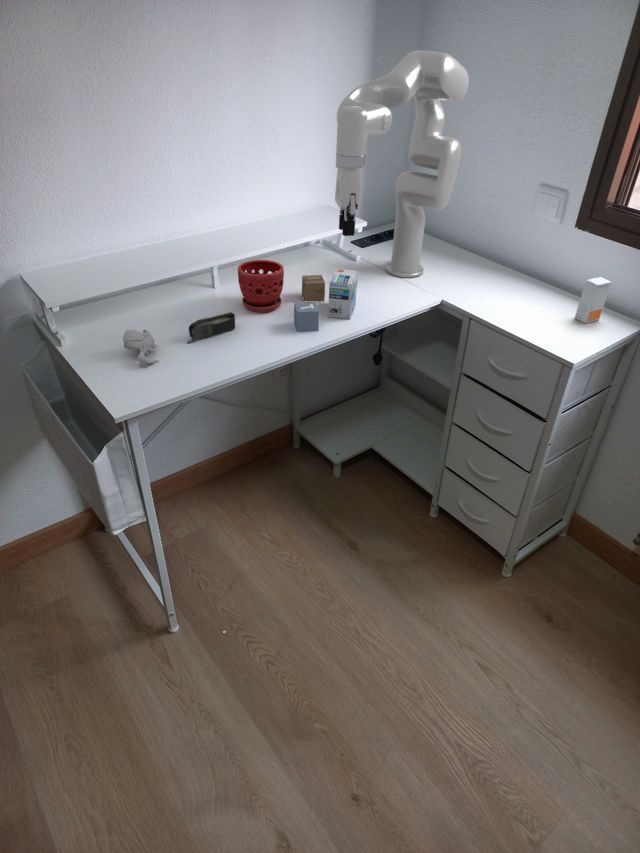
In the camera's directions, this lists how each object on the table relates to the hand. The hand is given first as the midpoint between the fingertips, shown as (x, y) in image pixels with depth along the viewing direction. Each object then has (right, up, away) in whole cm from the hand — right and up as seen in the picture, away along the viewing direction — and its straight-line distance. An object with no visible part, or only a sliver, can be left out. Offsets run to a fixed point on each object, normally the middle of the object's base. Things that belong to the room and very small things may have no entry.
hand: (346, 231), depth 169 cm
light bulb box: (-1, -19, +14) cm, 24 cm away
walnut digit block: (-9, -14, +21) cm, 26 cm away
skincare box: (+71, -22, +14) cm, 76 cm away
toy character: (-52, -36, -12) cm, 64 cm away
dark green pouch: (-37, -28, -1) cm, 46 cm away
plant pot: (-24, -17, +15) cm, 33 cm away
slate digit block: (-11, -25, +5) cm, 28 cm away
